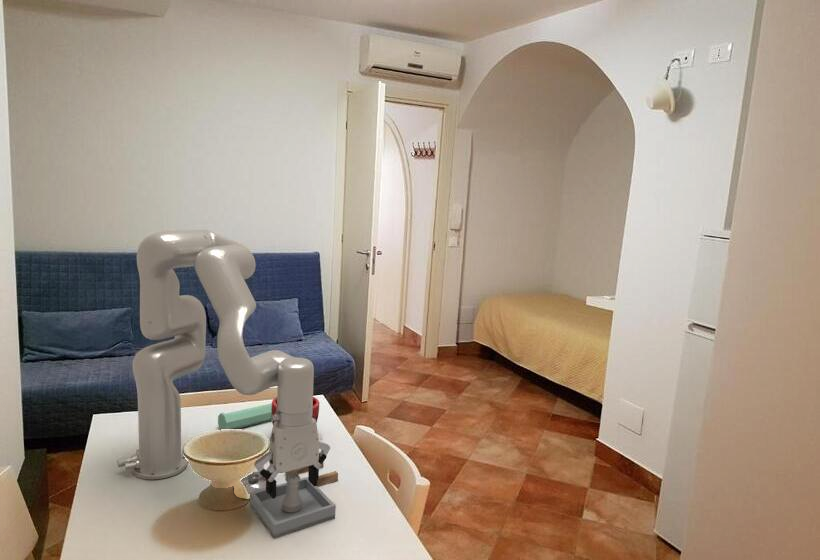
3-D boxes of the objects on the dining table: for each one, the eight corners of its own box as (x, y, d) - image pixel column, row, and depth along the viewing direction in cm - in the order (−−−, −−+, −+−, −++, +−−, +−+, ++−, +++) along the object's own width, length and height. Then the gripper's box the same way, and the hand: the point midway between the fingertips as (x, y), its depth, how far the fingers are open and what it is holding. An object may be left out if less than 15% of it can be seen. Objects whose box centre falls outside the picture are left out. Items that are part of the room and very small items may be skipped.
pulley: (241, 503, 124) (241, 490, 123) (228, 485, 131) (228, 472, 130) (278, 492, 129) (279, 480, 128) (264, 475, 136) (264, 463, 136)
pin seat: (300, 491, 130) (300, 483, 130) (285, 475, 137) (285, 467, 137) (337, 480, 136) (338, 473, 136) (321, 465, 143) (321, 458, 143)
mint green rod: (295, 392, 176) (220, 408, 159) (304, 404, 173) (228, 422, 156) (290, 406, 179) (216, 424, 162) (299, 418, 175) (224, 438, 158)
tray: (274, 538, 112) (274, 525, 112) (249, 505, 123) (250, 492, 123) (335, 518, 120) (335, 505, 120) (307, 488, 132) (307, 476, 131)
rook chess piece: (297, 515, 119) (298, 481, 118) (278, 511, 120) (279, 478, 119) (305, 503, 124) (306, 471, 122) (286, 500, 124) (287, 467, 123)
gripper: (262, 430, 110) (260, 509, 113) (338, 414, 121) (335, 486, 123) (249, 417, 116) (248, 492, 119) (322, 402, 126) (320, 472, 129)
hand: (292, 489), depth 121 cm, fingers open, 9 cm apart
